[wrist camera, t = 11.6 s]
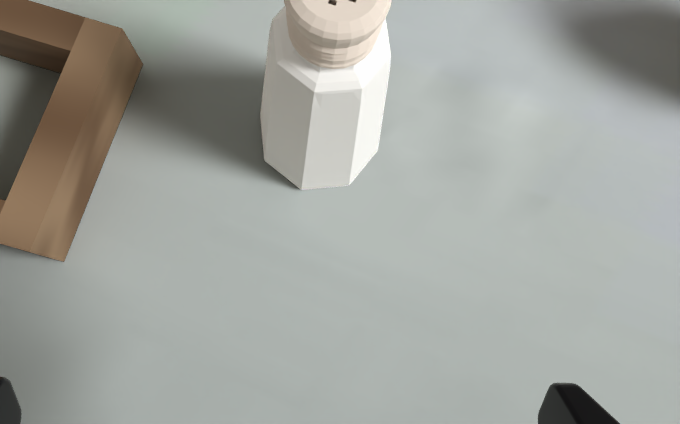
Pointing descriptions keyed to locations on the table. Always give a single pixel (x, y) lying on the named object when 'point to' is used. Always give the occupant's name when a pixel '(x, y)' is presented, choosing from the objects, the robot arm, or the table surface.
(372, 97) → the pepper shaker
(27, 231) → the socket block
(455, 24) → the table surface
